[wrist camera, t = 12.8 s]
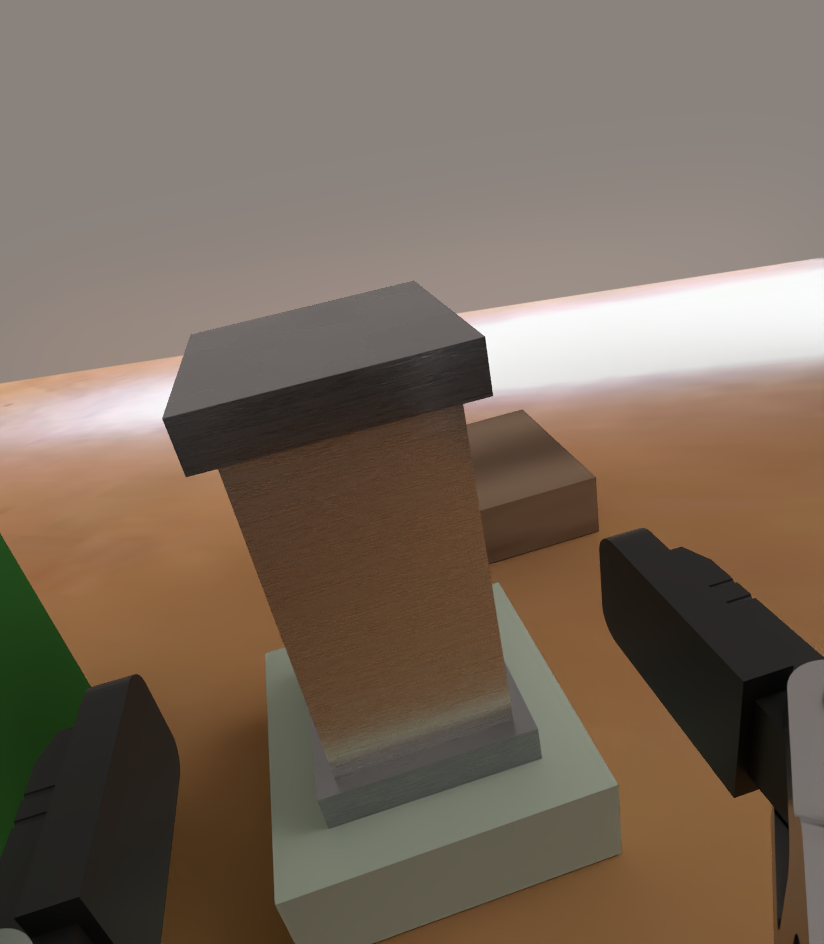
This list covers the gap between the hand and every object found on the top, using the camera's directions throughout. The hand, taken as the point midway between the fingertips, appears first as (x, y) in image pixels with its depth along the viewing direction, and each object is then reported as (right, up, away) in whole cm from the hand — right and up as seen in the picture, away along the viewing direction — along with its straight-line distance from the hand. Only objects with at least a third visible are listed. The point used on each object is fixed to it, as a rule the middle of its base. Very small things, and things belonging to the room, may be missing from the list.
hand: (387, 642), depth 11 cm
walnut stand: (+4, +1, +23) cm, 24 cm away
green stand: (+1, -7, +10) cm, 13 cm away
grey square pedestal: (0, -4, +9) cm, 10 cm away
